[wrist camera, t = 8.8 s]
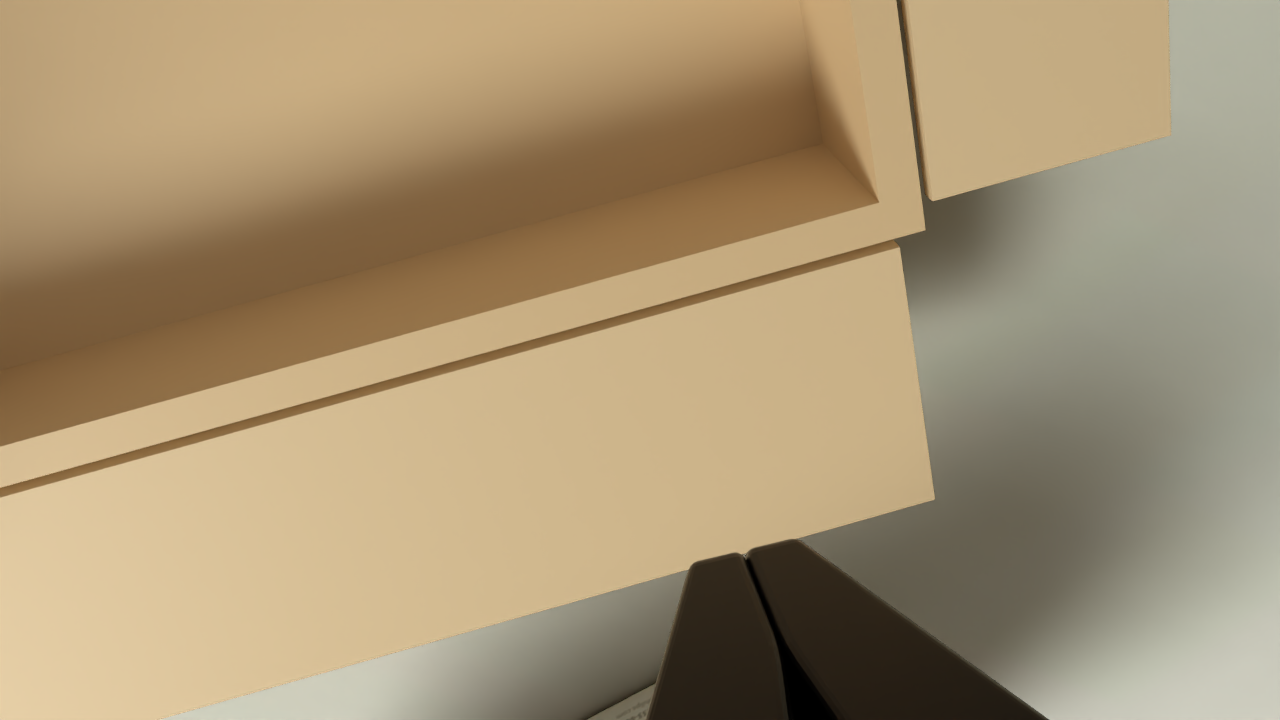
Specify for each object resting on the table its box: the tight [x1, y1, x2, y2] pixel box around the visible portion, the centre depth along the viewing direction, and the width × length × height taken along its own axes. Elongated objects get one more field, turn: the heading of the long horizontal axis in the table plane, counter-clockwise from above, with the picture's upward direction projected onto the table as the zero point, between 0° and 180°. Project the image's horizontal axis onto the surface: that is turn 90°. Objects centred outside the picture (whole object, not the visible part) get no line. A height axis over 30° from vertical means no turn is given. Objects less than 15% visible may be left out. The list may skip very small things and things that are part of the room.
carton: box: [0, 0, 1171, 720], centre depth 17 cm, size 23×17×3 cm
